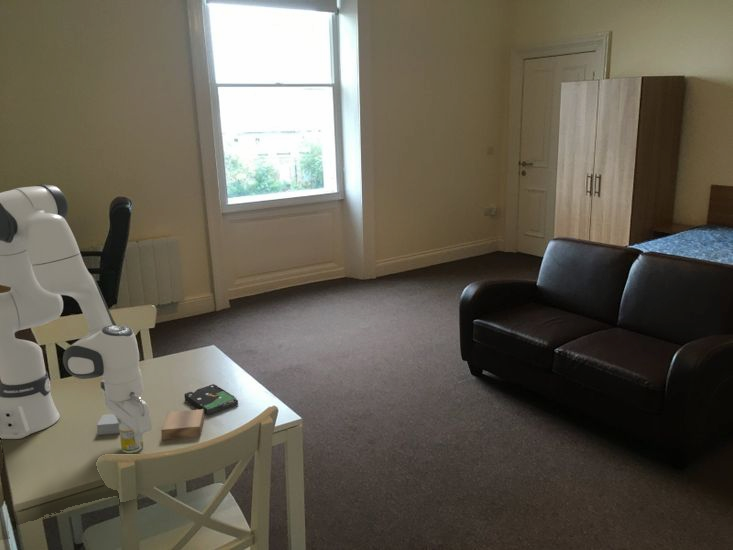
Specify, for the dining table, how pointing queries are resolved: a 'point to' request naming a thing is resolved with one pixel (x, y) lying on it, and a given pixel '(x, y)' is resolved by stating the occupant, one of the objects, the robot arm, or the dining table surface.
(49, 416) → the robot arm
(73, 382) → the dining table surface
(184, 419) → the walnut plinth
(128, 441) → the supplement bottle
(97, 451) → the dining table surface
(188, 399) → the disk drive
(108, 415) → the slate plinth
